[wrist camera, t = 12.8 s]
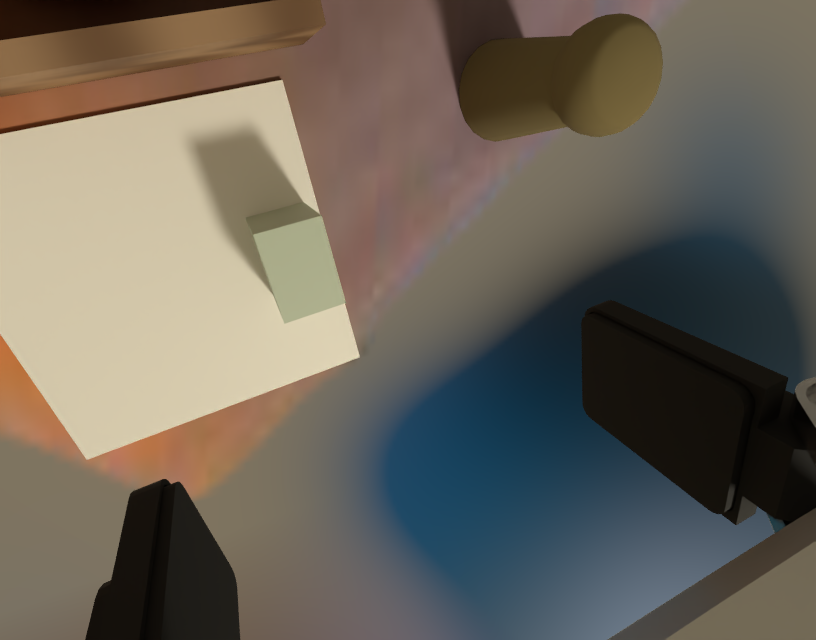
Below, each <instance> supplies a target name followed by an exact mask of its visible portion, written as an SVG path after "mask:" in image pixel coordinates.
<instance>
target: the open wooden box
mask: <svg viewBox="0 0 816 640" xmlns="http://www.w3.org/2000/svg"><path fill="white" fill-rule="evenodd" d="M324 25H326V22H325V18H324V14H323V9H322V5H321V1H320V0H270V1H268V2H261V3H254V4H247V5H240V6H233V7H227V8H220V9H213V10H206V11H199V12H192V13H185V14H178V15H172V16H165V17H158V18H151V19H144V20H137V21H130V22H123V23H117V24H110V25H103V26H96V27H89V28H82V29H75V30H68V31H62V32H55V33H48V34H41V35H34V36H27V37H20V38H13V39H6V40H0V97H3V96H9V95H15V94H20V93H26V92H32V91H38V90H43V89H49V88H55V87H61V86H66V85H72V84H78V83H83V82H89V81H95V80H101V79H106V78H112V77H118V76H124V75H129V74H135V73H141V72H147V71H152V70H158V69H164V68H170V67H175V66H181V65H187V64H192V63H198V62H204V61H210V60H215V59H221V58H227V57H233V56H238V55H244V54H250V53H256V52H261V51H267V50H273V49H279V48H284V47H290V46H296V45H301V44H304V43H305V42H306V41H307V40H308V39H310V38H311V37H312V36H313V35H314V34H315V33H316V32H318V31H319V30H320V29H321V28H322V27H323V26H324Z"/></svg>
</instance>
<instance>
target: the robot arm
mask: <svg viewBox="0 0 816 640" xmlns="http://www.w3.org/2000/svg"><path fill="white" fill-rule="evenodd" d="M581 326H582V391H583V392H582V395H583V396H582V397H583V408H584V410H585V412H586V414H587V415H588V416H589V417H590V418H591V419H592V420H594V421H595V422H596V423H597V424H599V425H600V426H601V427H602V428H604V429H605V430H606V431H608V432H609V433H610V434H611V435H613V436H614V437H615V438H617V439H618V440H619V441H621V442H622V443H623V444H624V445H626V446H627V447H628V448H630V449H631V450H632V451H633V452H635V453H636V454H637V455H639V456H640V457H641V458H642V459H644V460H645V461H646V462H648V463H649V464H650V465H652V466H653V467H654V468H655V469H657V470H658V471H659V472H661V473H662V474H663V475H664V476H666V477H667V478H668V479H670V480H671V481H672V482H673V483H675V484H676V485H678V486H679V487H680V488H681V489H682V490H684V491H685V492H686V493H688V494H689V495H690V496H691V497H693V498H694V499H695V500H697V501H698V502H699V503H701V504H702V505H703V506H704V507H706V508H707V509H708V510H710V511H711V512H713V513H716V514H722V515H723V516H724V517H726V518H727V519H729V520H730V521H731V522H732V523H734V524H735V525H737V524H739V523H741V522H742V521H744V520H746V519H747V518H749V517H750V516H752V515H754V514H755V512H756V508H757V506H758V507H759V508H760V509H762V510H763V511H765V512H766V513H767V515H768V518H769V521H770V523H771V526H772V528H773V530H774V533H775V534H773V535H771V536H770V537H768V538H767V539H765V540H764V541H762V542H760V543H759V544H757V545H756V546H754V547H752V548H751V549H749V550H748V551H746V552H745V553H743V554H741V555H740V556H738V557H737V558H735V559H734V560H732V561H730V562H729V563H727V564H726V565H724V566H722V567H721V568H719V569H718V570H716V571H715V572H713V573H711V574H710V575H708V576H706V577H705V578H703V579H702V580H700V581H699V582H697V583H695V584H694V585H692V586H691V587H689V588H688V589H686V590H684V591H683V592H681V593H680V594H678V595H677V596H675V597H674V598H672V599H671V600H669V601H667V602H666V603H664V604H663V605H661V606H659V607H658V608H656V609H655V610H653V611H652V612H650V613H648V614H647V615H645V616H644V617H642V618H641V619H639V620H637V621H636V622H634V623H633V624H631V625H630V626H628V627H627V628H625V629H623V630H622V631H620V632H619V633H617V634H616V635H614V636H612V637H611V638H609V639H608V640H816V377H815V378H811V379H807V380H804V381H802V382H801V383H800V384H798V385H797V387H796V390H795V393H794V394H792V393H790V392H788V391H785V389H786V384H787V381H788V377H786V376H783V375H781V374H779V373H777V372H774V371H772V370H770V369H767V368H765V367H763V366H761V365H758V364H756V363H754V362H752V361H749V360H747V359H745V358H742V357H740V356H738V355H736V354H733V353H731V352H729V351H727V350H724V349H722V348H720V347H717V346H715V345H713V344H711V343H708V342H706V341H704V340H702V339H699V338H697V337H695V336H693V335H690V334H688V333H686V332H683V331H681V330H679V329H677V328H674V327H672V326H670V325H668V324H665V323H663V322H661V321H658V320H656V319H654V318H652V317H649V316H647V315H645V314H643V313H640V312H638V311H636V310H633V309H631V308H629V307H627V306H624V305H622V304H620V303H618V302H615V301H612V300H610V301H606V302H603V303H601V304H598V305H596V306H593V307H591V308H589V309H587V311H586V313H585V317H583V319H582V324H581ZM85 640H240V629H239V612H238V595H237V584H236V579H235V575H234V572H233V570H232V568H231V566H230V564H229V562H228V561H227V559H226V557H225V556H224V554H223V552H222V551H221V549H220V547H219V546H218V544H217V542H216V541H215V539H214V537H213V535H212V534H211V532H210V530H209V529H208V527H207V525H206V524H205V522H204V520H203V519H202V517H201V516H200V514H199V512H198V510H197V508H196V507H195V505H194V503H193V502H192V500H191V498H190V497H189V495H188V493H187V492H186V490H185V488H184V487H183V485H182V484H181V483H180V482H176V483H173V484H170V482H169V481H168V480H166V479H162V480H160V481H157V482H155V483H152V484H150V485H147V486H145V487H142V488H140V489H137V490H135V491H133V492H132V493H131V494H130V497H129V501H128V505H127V510H126V515H125V519H124V524H123V528H122V533H121V538H120V542H119V547H118V551H117V556H116V561H115V565H114V570H113V575H112V580H111V581H108V582H106V583H104V584H103V585H102V586H101V587H100V589H99V590H98V593H97V595H96V598H95V602H94V606H93V610H92V614H91V619H90V623H89V627H88V631H87V635H86V639H85Z"/></svg>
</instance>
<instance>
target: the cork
mask: <svg viewBox="0 0 816 640" xmlns="http://www.w3.org/2000/svg"><path fill="white" fill-rule="evenodd" d="M662 65H663V59H662V51H661V45H660V43H659V40H658V38H657V36H656V33H655V32H654V31H653V30H652V29H651V28H650V27H649V25H648V24H647V23H645V22H644V21H643V20H641V19H639V18H637V17H634V16H632V15H629V14H611V15H605V16H601V17H598V18H596V19H594V20H592V21H590V22H589V23H587V24H585V25H583V26H582V27H581V28H579V29H578V30H576V31H575V32H574V33H573V34H572V35H571V36H559V37H533V38H508V39H496V40H490V41H489V42H487V43H485V44H483V45H481V46H480V47H478V48H477V50H476V51H475V52H474V53H473V54H472V55H471V56H470V58H469V59H468V61H467V63H466V66H465V68H464V70H463V72H462V75H461V81H460V87H459V98H460V107H461V110H462V113H463V116H464V119H465V121H466V123H467V124H468V125H469V127H470V128H471V129H472V131H473V132H474V133H476V134H477V135H479V136H480V137H482V138H483V139H486V140H491V141H495V142H496V141H501V140H507V139H512V138H516V137H521V136H526V135H531V134H535V133H540V132H545V131H550V130H554V129H559V128H564V127H569V128H570V129H571V130H573V131H575V132H577V133H580V134H583V135H588V136H593V137H602V136H607V135H611V134H615V133H618V132H621V131H623V130H624V129H626V128H628V127H629V126H631V125H632V124H634V123H635V122H636V121H637V120H639V119H640V118H641V116H642V115H643V114H644V113H645V112H646V111H647V110H648V108H649V107H650V105H651V103H652V101H653V100H654V98H655V96H656V94H657V91H658V88H659V84H660V81H661V76H662Z"/></svg>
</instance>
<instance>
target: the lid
mask: <svg viewBox="0 0 816 640" xmlns="http://www.w3.org/2000/svg"><path fill="white" fill-rule="evenodd" d="M345 303H346V302H345V298H344V294H343V291H342V287H341V284H340V280H339V276H338V273H337V269H336V266H335V262H334V258H333V255H332V251H331V248H330V244H329V240H328V237H327V233H326V230H325V226H324V222H323V219H322V215H320V213H319V210H318V206H317V202H316V199H315V195H314V192H313V188H312V185H311V181H310V177H309V174H308V170H307V167H306V163H305V159H304V156H303V152H302V149H301V145H300V142H299V138H298V134H297V131H296V127H295V124H294V120H293V117H292V113H291V109H290V106H289V102H288V99H287V95H286V91H285V88H284V84H283V81H282V80H278V81H273V82H268V83H263V84H258V85H253V86H247V87H242V88H237V89H232V90H227V91H221V92H216V93H211V94H206V95H201V96H196V97H190V98H185V99H180V100H175V101H170V102H164V103H159V104H154V105H149V106H144V107H139V108H133V109H128V110H123V111H118V112H113V113H107V114H102V115H97V116H92V117H87V118H82V119H76V120H71V121H66V122H61V123H56V124H50V125H45V126H40V127H35V128H30V129H25V130H19V131H14V132H9V133H4V134H0V334H1V336H2V337H3V339H4V340H5V341H6V343H7V344H8V346H9V347H10V349H11V350H12V352H13V353H14V355H15V356H16V357H17V359H18V360H19V362H20V363H21V365H22V366H23V368H24V369H25V371H26V372H27V373H28V375H29V376H30V378H31V379H32V381H33V382H34V384H35V385H36V387H37V388H38V389H39V391H40V392H41V394H42V395H43V397H44V398H45V400H46V401H47V403H48V404H49V405H50V407H51V408H52V410H53V411H54V413H55V414H56V416H57V417H58V419H59V420H60V421H61V423H62V424H63V426H64V427H65V429H66V430H67V432H68V433H69V435H70V436H71V437H72V439H73V440H74V442H75V443H76V445H77V446H78V448H79V449H80V451H81V452H82V453H83V455H84V456H85V458H86V459H90V458H93V457H95V456H98V455H101V454H103V453H106V452H109V451H111V450H114V449H117V448H119V447H122V446H125V445H127V444H130V443H133V442H135V441H138V440H141V439H143V438H146V437H149V436H151V435H154V434H157V433H159V432H162V431H165V430H167V429H170V428H173V427H175V426H178V425H181V424H183V423H186V422H189V421H191V420H194V419H197V418H199V417H202V416H204V415H207V414H210V413H212V412H215V411H218V410H220V409H223V408H226V407H228V406H231V405H234V404H236V403H239V402H242V401H244V400H247V399H250V398H252V397H255V396H258V395H260V394H263V393H266V392H268V391H271V390H274V389H276V388H279V387H282V386H284V385H287V384H290V383H292V382H295V381H298V380H300V379H303V378H306V377H308V376H311V375H314V374H316V373H319V372H322V371H324V370H327V369H330V368H332V367H335V366H338V365H340V364H343V363H346V362H348V361H351V360H353V359H356V358H359V357H360V356H359V353H358V349H357V346H356V342H355V338H354V335H353V331H352V328H351V324H350V321H349V317H348V313H347V310H346V306H345Z"/></svg>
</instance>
